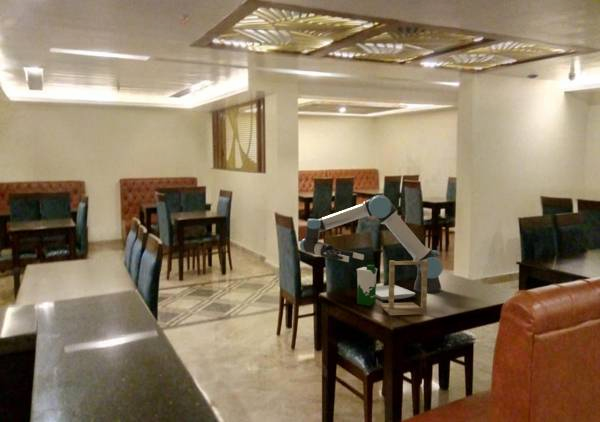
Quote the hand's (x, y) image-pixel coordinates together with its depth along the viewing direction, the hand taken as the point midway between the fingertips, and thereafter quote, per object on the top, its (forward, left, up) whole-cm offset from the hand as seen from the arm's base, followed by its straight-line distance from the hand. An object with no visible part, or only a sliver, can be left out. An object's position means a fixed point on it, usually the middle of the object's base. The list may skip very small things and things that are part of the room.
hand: (356, 258), depth 250 cm
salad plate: (-20, -7, -23) cm, 31 cm away
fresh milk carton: (-4, +7, -22) cm, 24 cm away
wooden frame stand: (-19, +19, -22) cm, 35 cm away
